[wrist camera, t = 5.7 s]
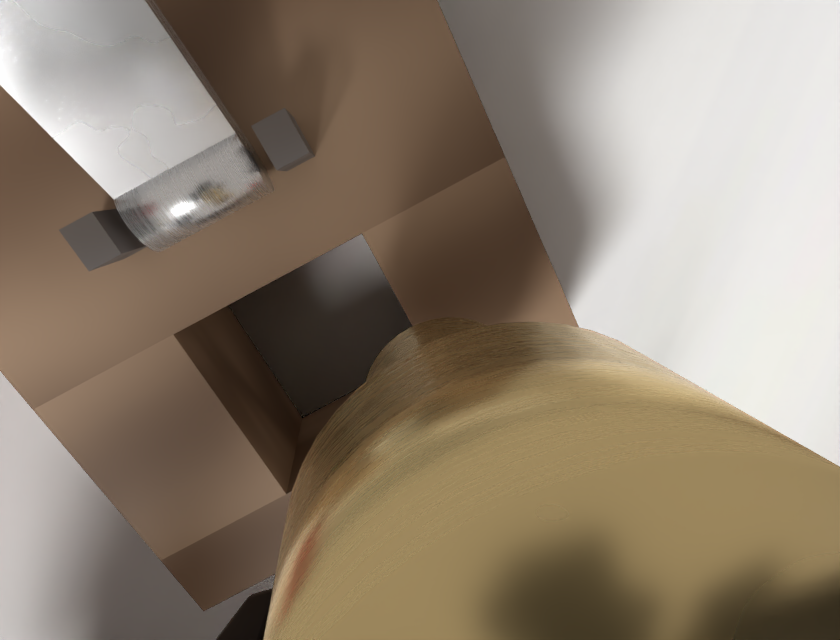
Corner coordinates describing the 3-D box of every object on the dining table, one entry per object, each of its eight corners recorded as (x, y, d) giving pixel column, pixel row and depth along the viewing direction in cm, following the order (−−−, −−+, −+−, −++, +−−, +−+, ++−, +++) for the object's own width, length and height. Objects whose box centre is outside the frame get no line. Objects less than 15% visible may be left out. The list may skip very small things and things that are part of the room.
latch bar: (269, 171, 13) (278, 202, 12) (164, 228, 13) (164, 264, 12) (-55, -311, 7) (-97, -338, 6) (-247, -205, 7) (-323, -211, 6)
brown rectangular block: (549, 346, 20) (641, 424, 14) (238, 510, 21) (185, 664, 14) (316, -161, 15) (288, -416, 9) (-98, 66, 15) (-427, -17, 9)
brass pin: (556, 237, 12) (1036, 353, 4) (589, 478, 13) (962, 931, 5) (276, 302, 11) (84, 611, 3) (348, 544, 13) (349, 1152, 5)
